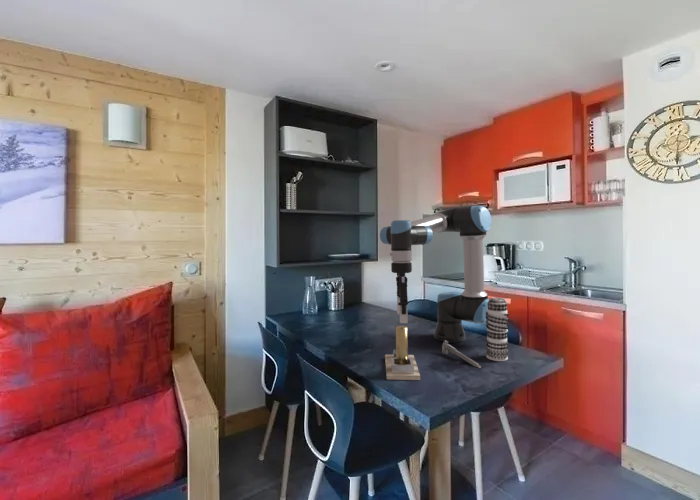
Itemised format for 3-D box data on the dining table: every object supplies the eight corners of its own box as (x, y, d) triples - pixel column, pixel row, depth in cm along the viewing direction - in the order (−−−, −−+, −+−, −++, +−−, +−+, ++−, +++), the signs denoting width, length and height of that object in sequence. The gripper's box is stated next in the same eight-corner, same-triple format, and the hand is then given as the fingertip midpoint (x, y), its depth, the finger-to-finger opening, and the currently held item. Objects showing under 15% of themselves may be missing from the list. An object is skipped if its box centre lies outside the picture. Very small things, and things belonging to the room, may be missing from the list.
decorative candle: (500, 353, 153) (500, 296, 152) (513, 360, 144) (514, 300, 143) (481, 354, 151) (481, 297, 150) (493, 362, 142) (493, 301, 141)
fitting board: (420, 380, 126) (420, 367, 126) (386, 379, 127) (386, 367, 127) (413, 358, 148) (413, 347, 148) (385, 358, 149) (384, 347, 149)
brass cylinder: (407, 367, 134) (407, 325, 134) (408, 371, 130) (408, 328, 129) (395, 366, 135) (395, 325, 134) (396, 371, 130) (396, 328, 130)
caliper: (442, 353, 154) (442, 339, 154) (443, 353, 155) (443, 339, 154) (479, 368, 136) (479, 353, 136) (481, 368, 137) (481, 352, 136)
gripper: (389, 259, 143) (390, 310, 144) (393, 265, 118) (394, 327, 119) (408, 258, 143) (409, 310, 144) (415, 264, 118) (416, 327, 119)
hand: (402, 318), depth 132 cm, fingers open, 13 cm apart
